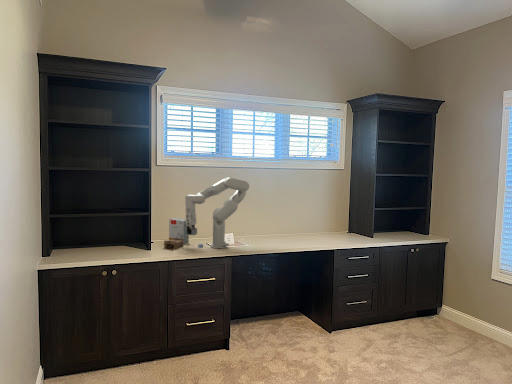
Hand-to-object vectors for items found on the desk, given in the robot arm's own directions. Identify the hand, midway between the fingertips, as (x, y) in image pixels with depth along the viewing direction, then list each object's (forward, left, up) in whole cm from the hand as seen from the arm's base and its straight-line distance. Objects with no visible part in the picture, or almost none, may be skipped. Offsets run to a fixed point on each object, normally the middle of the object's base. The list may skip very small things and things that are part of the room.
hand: (190, 233), depth 301 cm
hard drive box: (+18, -13, -12) cm, 25 cm away
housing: (0, 0, -1) cm, 1 cm away
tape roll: (-5, -7, -12) cm, 15 cm away
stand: (+13, +4, -12) cm, 18 cm away
